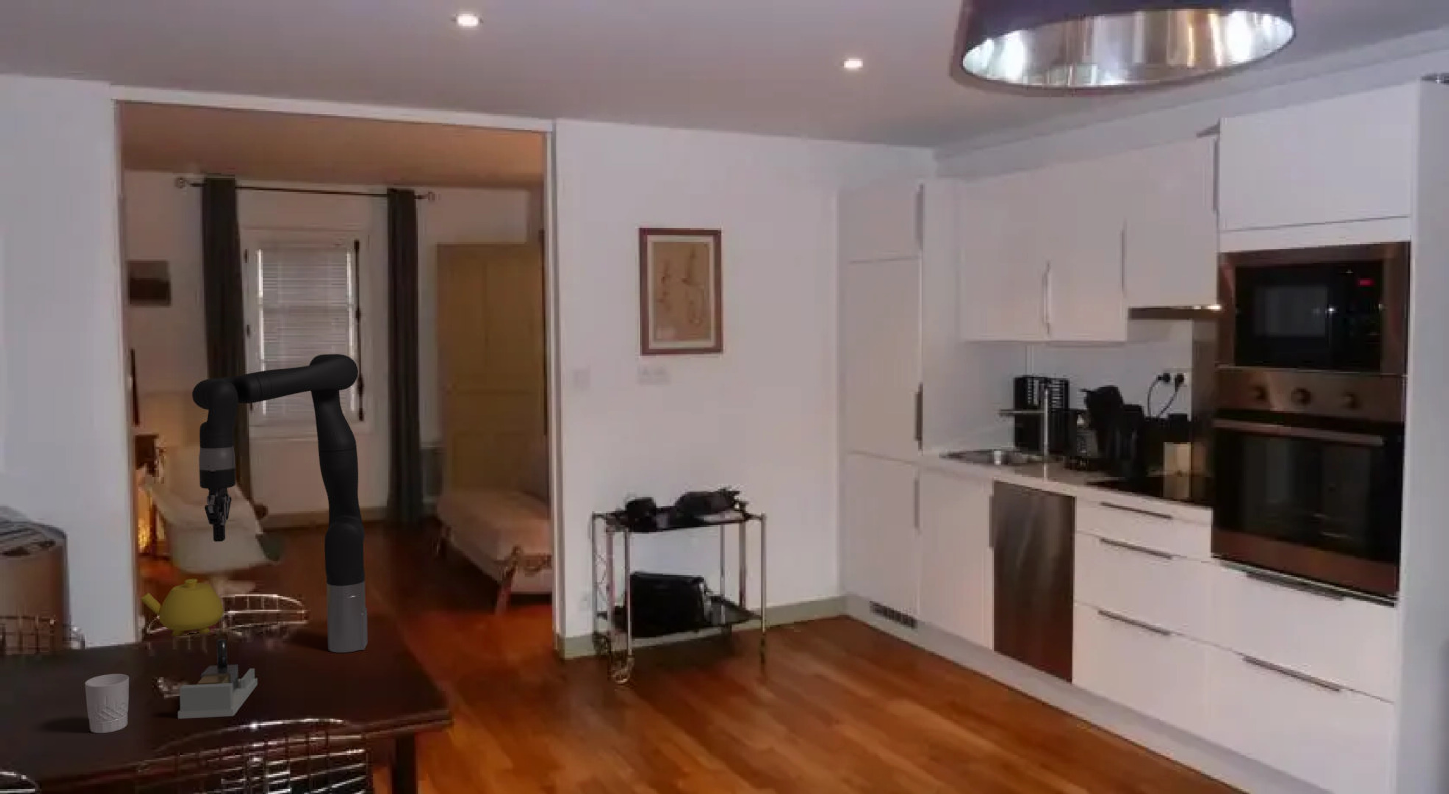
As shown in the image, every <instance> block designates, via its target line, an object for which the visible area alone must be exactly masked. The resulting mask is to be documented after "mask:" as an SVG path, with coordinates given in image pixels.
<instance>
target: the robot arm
mask: <svg viewBox="0 0 1449 794" xmlns="http://www.w3.org/2000/svg"><path fill="white" fill-rule="evenodd" d="M358 375H359V369H358V365H357V363H356V362H355V360H354V359H353V358H352V357H350V356H348V355H346V354H342V353H329V354H328V353H325V354H323V353H322V354H318V355H316V356H314V357H313V358H312V360H310V363H309V365H303V366H298V367H288V368H274V369H268V370H266V369H265V370H261V371H256V372H255V371H254V372H249V373H246V374H245V373H244V374H241V375H235V376H221V377H215V378H214V377H212V378H207V379H203V380H201V381H199V382H198V383H197V384H196V385H195V386H194V388H193V389H192V394H191V396H192V400H193V402H194V403H195V404H196V406H197V407H198V408H201V409H203V410H208V413H207V419H206V421H204V422H202V423H201V424H200V426H199V455H198V464H199V465H198V467H199V468H198V469H199V470H198V472H199V474H198V475H199V487H200V488H201V489H203V490H204V489H205V490H206V489H207V490H208V495H207V496H206V504H205V505H204V511H205V514H206V517H207V521H208V525H211V526H212V531H213V532H212V539H213V541H214V542H216V543H218V542H223V541H225V540H226V524H227V521H228V520H229V517H230V516H229V515H230V510H231V504H232V496H230V494H229V491H228V489H229V488H233V487H235V486H236V484H237V483H236V481H237V480H236V455H235V454H236V453H235V450H234V447H235V446H234V425H235V422H236V417H237V414H238V413H237V412H238V407H239V404H254V403H260V402H264V401H269V400H270V401H271V400H275V399H279V398H283V397H287V396H293V395H296V394H300V393H305V392H306V393H307V392H310V394H311V399H312V405H313V409H314V417H315V427H316V434H317V450H318V462H319V469H320V473H321V474H320V475H321V478H322V479H321V480H322V482H323V486H324V489H325V492H326V495H327V500H328V502H327V503H328V526H327V527H328V528H327V531H326V532H325V536H324V566H325V567H324V568H325V569H324V571H325V576H326V604H327V605H326V606H327V607H326V610H327V611H326V613H327V614H326V615H327V649H328V651H330V652H332V653H352V652H356V651H362V650H363V651H365V649H366V647H367V645H368V608H367V607H366V581H365V579H366V575H365V573H366V572H365V564H364V561H365V560H364V541H365V537H366V535H365V533H366V532H365V527H364V524H363V519H362V514H361V508H360V502H359V461H358V459H359V458H358V448H357V440H356V438H355V435H354V433H353V430H352V428H351V426H350V424H349V422H348V420H347V419H346V416H345V415H344V413H343V409H342V405H341V396H340V391H344V390H346V389H349V388H350V387H352V386H353V385H354V384H355V383H356V381H357V379H358V378H359V377H358Z"/></svg>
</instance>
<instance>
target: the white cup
mask: <svg viewBox="0 0 1449 794" xmlns="http://www.w3.org/2000/svg"><path fill="white" fill-rule="evenodd" d="M129 685H130V677H129V675H127V674H122V673H110V674H104V675H102V674H101V675H97V676H94V677H91V678H89V679H87V680H86V681H85V682H84V687H85V689H84V690H85V701H86V708H87V718H88V722H89V730H90V732H92V733H95V734H107V733H113V732H116V731H120V730H122V729H125V727H127V725H128V711H129V699H130V698H129V695H130V694H129V693H130V692H129V691H130V690H129V689H130V688H129V687H130V686H129Z"/></svg>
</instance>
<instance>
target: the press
mask: <svg viewBox="0 0 1449 794" xmlns="http://www.w3.org/2000/svg"><path fill="white" fill-rule="evenodd" d="M255 670H256V669H255V668H249V669H248V670H247V672H246V673H245V674H244V675H243V677H241V678H238V688H237V689H236V690H235V691H234V692H233V683H223V684H201V685H197V684H187V685H186V684H185V685H184V684H183V685H182V686H181V687H179V707H180V709H179V710H178V711H177V719H178V720H179V719H196V718H197V719H199V718H200V719H201V718H202V719H203V718H215V717H216V718H218V717H219V718H220V717H234V716H235V715H236V713H237V712H238V710H239V709H240V708H241V707H242V705H243V704H244V703H245V702H246V700H247V699H248V697H249V696H250V695H251V693H252V692H253V691H254V690H255V689H256V687H257V686H258V678H257V677H256V678H255V676H256V675H255V674H256V673H255V672H256V671H255Z"/></svg>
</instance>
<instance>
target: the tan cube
mask: <svg viewBox="0 0 1449 794" xmlns="http://www.w3.org/2000/svg"><path fill="white" fill-rule="evenodd" d="M223 683H229V675H210V676H204V677H203V678H202V679H200V680H199V681H198V682H197V684H196V685H201V684H223Z"/></svg>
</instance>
